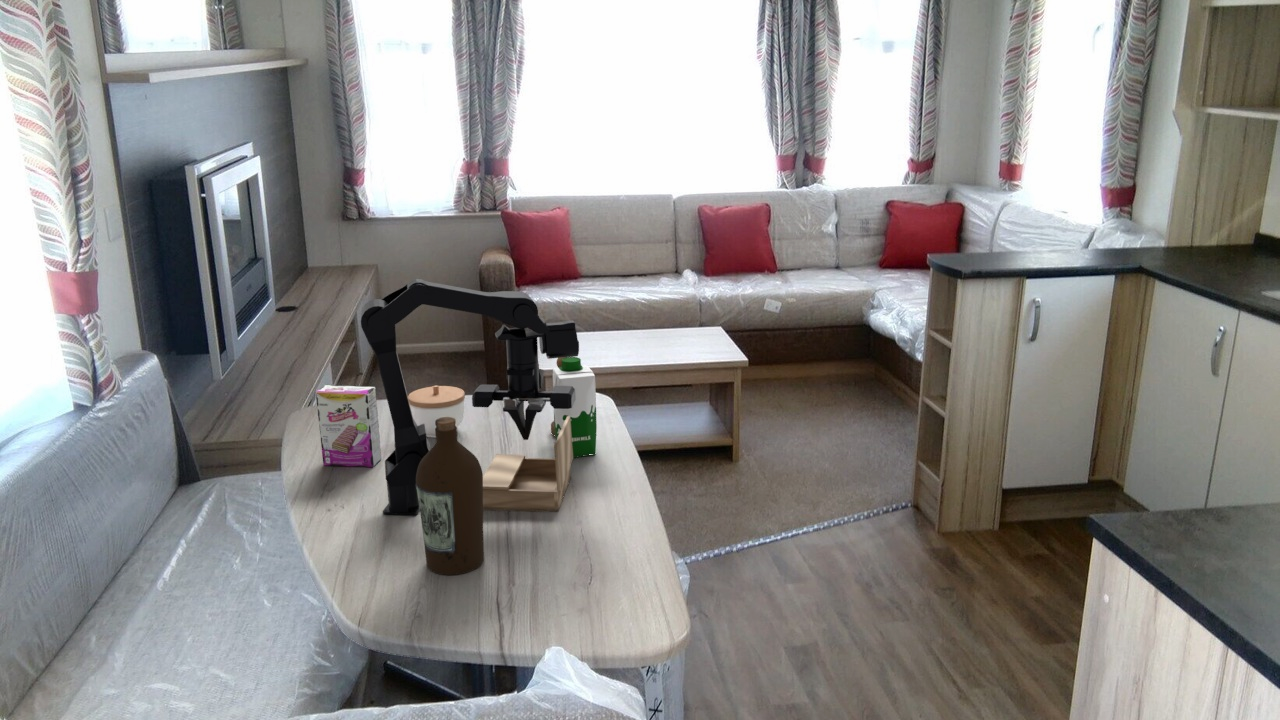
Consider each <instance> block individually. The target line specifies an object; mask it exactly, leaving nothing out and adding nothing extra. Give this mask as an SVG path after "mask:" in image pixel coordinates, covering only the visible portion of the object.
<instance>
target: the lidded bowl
mask: <svg viewBox="0 0 1280 720" xmlns="http://www.w3.org/2000/svg"><path fill="white" fill-rule="evenodd" d="M407 396H408V400H409V404H410V408H411V412H412V416H413V419H414V421H415V422H416V424H417V426H419V425H421V424H425V430H426V438H433V439H434V438H435V439H436V434H435V428H436V425H435V421H436V420H437V419H439V418H442V417H452V418H454V419H455V420H456V424H455V426H456V427H457V429H458V428H459V426H461V424H462V422H463V419H464V416H465V409H466V403H465V398H466V393H465V391H464V390H463V389H462V388H459V387H456V386H450V385H449V386H448V385H433V386H427V387H422V388H418V389H416V390H413V391H412V392H410V393H409V394H407Z"/></svg>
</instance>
